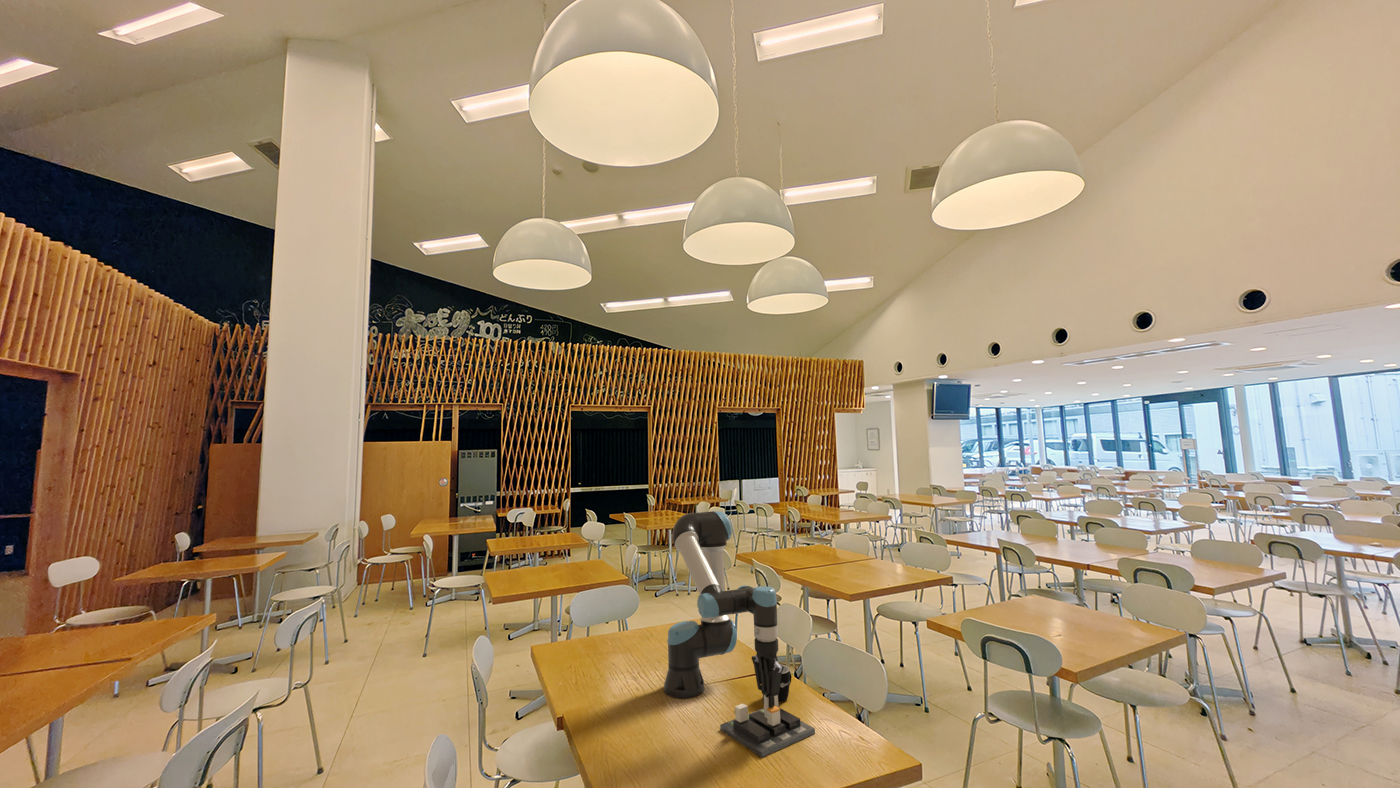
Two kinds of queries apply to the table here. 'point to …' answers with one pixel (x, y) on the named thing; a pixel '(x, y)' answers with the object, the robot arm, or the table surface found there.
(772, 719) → the block
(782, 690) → the mug
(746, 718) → the block
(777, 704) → the breaker far
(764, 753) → the panel
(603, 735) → the table surface
